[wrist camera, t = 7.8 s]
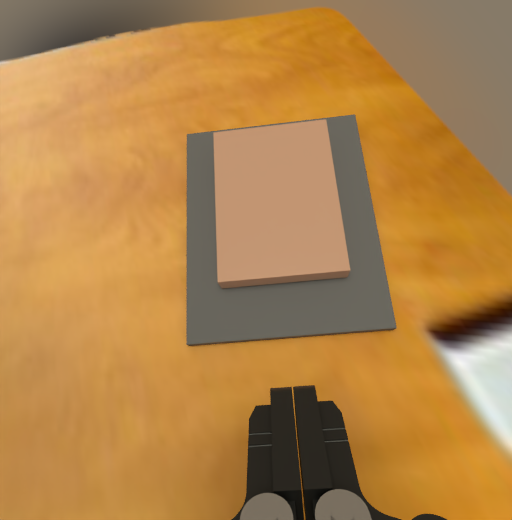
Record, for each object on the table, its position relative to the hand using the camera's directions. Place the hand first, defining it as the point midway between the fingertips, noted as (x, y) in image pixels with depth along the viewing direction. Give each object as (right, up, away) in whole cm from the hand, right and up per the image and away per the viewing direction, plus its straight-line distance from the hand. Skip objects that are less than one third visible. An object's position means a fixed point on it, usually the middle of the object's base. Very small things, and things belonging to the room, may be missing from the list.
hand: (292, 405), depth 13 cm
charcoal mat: (+1, +8, +20) cm, 22 cm away
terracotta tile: (+1, +3, +17) cm, 17 cm away
